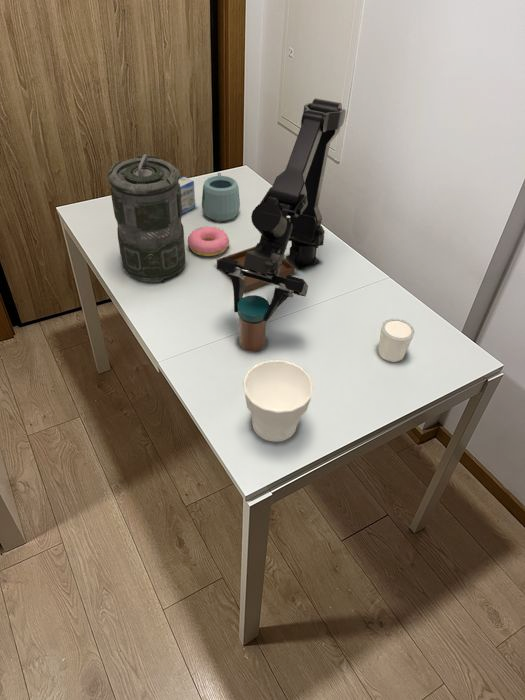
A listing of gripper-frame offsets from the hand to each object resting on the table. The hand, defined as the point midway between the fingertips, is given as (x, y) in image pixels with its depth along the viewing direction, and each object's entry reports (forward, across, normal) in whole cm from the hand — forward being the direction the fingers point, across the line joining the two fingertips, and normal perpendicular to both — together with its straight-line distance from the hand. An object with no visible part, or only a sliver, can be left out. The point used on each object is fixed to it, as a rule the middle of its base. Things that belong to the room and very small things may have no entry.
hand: (250, 316), depth 110 cm
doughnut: (-16, -25, +28) cm, 41 cm away
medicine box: (-25, -41, +38) cm, 61 cm away
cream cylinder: (-2, +29, +14) cm, 32 cm away
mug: (-29, -31, +41) cm, 59 cm away
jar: (+5, 0, +7) cm, 9 cm away
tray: (-13, -10, +25) cm, 30 cm away
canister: (-6, -34, +18) cm, 39 cm away
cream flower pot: (+18, +13, -6) cm, 23 cm away
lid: (-2, 0, 0) cm, 2 cm away
